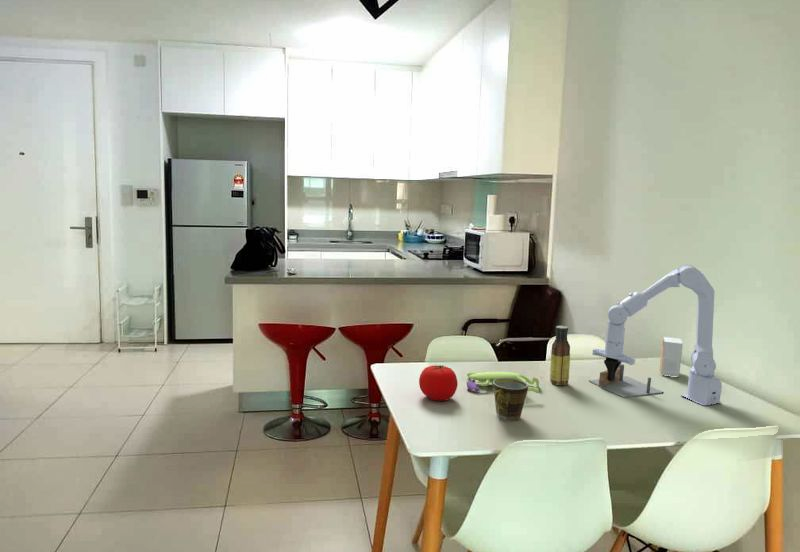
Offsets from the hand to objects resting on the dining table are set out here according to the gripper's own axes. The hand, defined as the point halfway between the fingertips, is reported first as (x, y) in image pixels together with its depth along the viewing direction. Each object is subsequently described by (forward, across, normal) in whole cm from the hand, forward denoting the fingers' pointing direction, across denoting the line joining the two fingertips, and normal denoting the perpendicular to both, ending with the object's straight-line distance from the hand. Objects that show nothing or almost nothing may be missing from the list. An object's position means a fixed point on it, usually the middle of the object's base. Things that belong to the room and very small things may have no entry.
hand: (611, 380), depth 211 cm
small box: (+3, -5, -33) cm, 33 cm away
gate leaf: (+2, +1, -1) cm, 3 cm away
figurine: (+3, +20, +33) cm, 38 cm away
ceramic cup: (+2, +3, +52) cm, 52 cm away
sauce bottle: (+2, +12, +12) cm, 18 cm away
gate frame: (+2, -3, -4) cm, 6 cm away
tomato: (+2, +26, +57) cm, 63 cm away
